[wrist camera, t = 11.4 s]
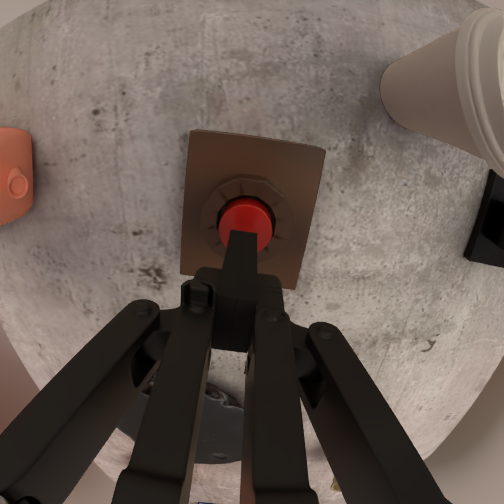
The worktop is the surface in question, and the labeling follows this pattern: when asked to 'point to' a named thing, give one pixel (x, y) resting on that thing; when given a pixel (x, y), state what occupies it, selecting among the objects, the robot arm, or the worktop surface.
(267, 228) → the button
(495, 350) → the worktop surface
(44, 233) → the worktop surface
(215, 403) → the board
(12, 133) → the teapot
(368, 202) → the worktop surface
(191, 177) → the button block
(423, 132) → the coffee cup
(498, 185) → the lever bracket
